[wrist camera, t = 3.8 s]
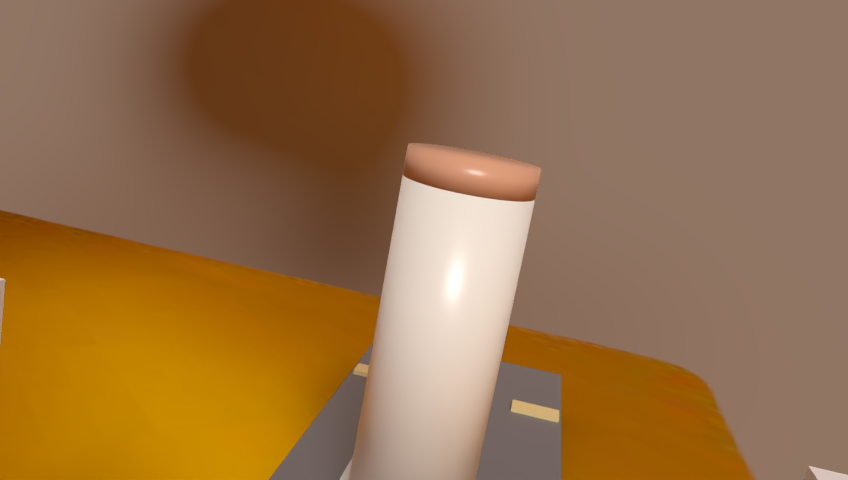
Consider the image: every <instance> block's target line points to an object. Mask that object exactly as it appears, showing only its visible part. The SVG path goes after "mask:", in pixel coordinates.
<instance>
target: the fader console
mask: <svg viewBox="0 0 848 480" xmlns="http://www.w3.org/2000/svg"><path fill="white" fill-rule="evenodd" d="M372 346H373V344H372V345H371V346H370V347H369V349H368V350H367V351H366V353H365V354H364V355H363V357H362V358H361V359H360V361H359V362H358V363H357V365H356V366H355V367H354V369H353V370H352V371H351V372H350V374H349V375H348V376H347V378H346V379H345V380H344V382H343V383H342V384H341V386H340V387H339V388H338V390H337V391H336V392H335V393H334V395H333V396H332V397H331V399H330V400H329V401H328V403H327V404H326V405H325V407H324V408H323V409H322V411H321V412H320V413H319V414H318V416H317V417H316V418H315V420H314V421H313V422H312V424H311V425H310V426H309V428H308V429H307V430H306V432H305V433H304V434H303V436H302V437H301V438H300V439H299V441H298V442H297V443H296V445H295V446H294V447H293V449H292V450H291V451H290V453H289V454H288V455H287V457H286V458H285V459H284V460H283V462H282V463H281V464H280V466H279V467H278V468H277V470H276V471H275V472H274V474H273V475H272V476H271V478H270V479H269V480H339V479H340V478H341V476H342V474H343V472H344V471H345V469H346V467H347V465H348V464H349V462H350V460H351V459H352V457H353V453H354V448H355V442H356V436H357V431H358V425H359V420H360V414H361V408H362V403H363V397H364V391H365V386H366V380H367V374H368V369H369V363H370V357H371V352H372ZM476 480H562V384H561V375H559V374H554V373H550V372H545V371H541V370H537V369H532V368H528V367H524V366H519V365H515V364H511V363H506V362H502V361H501V362H500V367H499V371H498V376H497V381H496V386H495V390H494V395H493V400H492V404H491V409H490V414H489V419H488V423H487V428H486V433H485V437H484V442H483V447H482V452H481V456H480V461H479V466H478V470H477V475H476Z"/></svg>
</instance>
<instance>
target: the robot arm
mask: <svg viewBox="0 0 848 480" xmlns="http://www.w3.org/2000/svg"><path fill="white" fill-rule="evenodd" d="M4 288H5V279H3V278H0V341H1V328H2V314H3V301H4ZM804 480H848V475H845V474H841V473H837V472H832V471H828V470H824V469H820V468H815V467H811V466H808V469H807V472H806V476H805V479H804Z"/></svg>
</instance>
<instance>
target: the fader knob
mask: <svg viewBox="0 0 848 480" xmlns="http://www.w3.org/2000/svg"><path fill="white" fill-rule="evenodd" d="M540 173H541V168H539V167H537V166H534V165H531V164H529V163H525V162H522V161H518V160H514V159H511V158H506V157H502V156H497V155H493V154H488V153H483V152H479V151H473V150H468V149H462V148H455V147H449V146H442V145H435V144H425V143H410V144H408V148H407V154H406V159H405V165H404V171H403V176H402V182H401V188H400V194H399V200H398V205H397V210H396V216H395V222H394V227H393V233H392V239H391V244H390V250H389V256H388V261H387V267H386V273H385V278H384V284H383V290H382V295H381V301H380V306H379V312H378V318H377V323H376V329H375V335H374V340H373V346H372V352H371V357H370V363H369V369H368V374H367V380H366V386H365V391H364V397H363V403H362V408H361V414H360V420H359V425H358V431H357V436H356V442H355V448H354V453H353V457H352V459H351V460H350V462H349V464H348V465H347V467H346V469H345V471H344V472H343V474H342V476H341V478H340V479H339V480H476V475H477V470H478V466H479V461H480V456H481V452H482V447H483V442H484V437H485V433H486V428H487V423H488V419H489V414H490V409H491V404H492V400H493V395H494V390H495V386H496V381H497V376H498V371H499V367H500V362H501V357H502V353H503V348H504V343H505V338H506V334H507V329H508V324H509V320H510V314H511V310H512V305H513V301H514V295H515V291H516V287H517V282H518V277H519V272H520V268H521V263H522V258H523V254H524V249H525V244H526V239H527V235H528V230H529V225H530V220H531V215H532V211H533V206H534V202H535V196H536V192H537V187H538V182H539V178H540Z"/></svg>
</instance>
